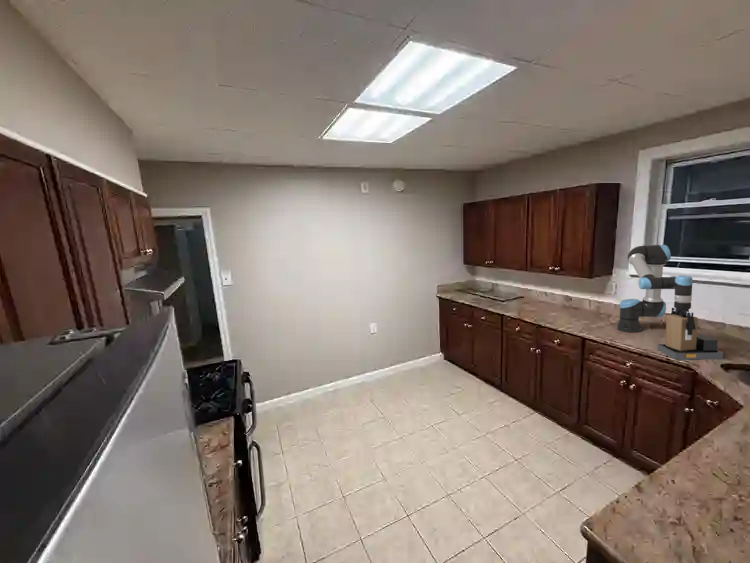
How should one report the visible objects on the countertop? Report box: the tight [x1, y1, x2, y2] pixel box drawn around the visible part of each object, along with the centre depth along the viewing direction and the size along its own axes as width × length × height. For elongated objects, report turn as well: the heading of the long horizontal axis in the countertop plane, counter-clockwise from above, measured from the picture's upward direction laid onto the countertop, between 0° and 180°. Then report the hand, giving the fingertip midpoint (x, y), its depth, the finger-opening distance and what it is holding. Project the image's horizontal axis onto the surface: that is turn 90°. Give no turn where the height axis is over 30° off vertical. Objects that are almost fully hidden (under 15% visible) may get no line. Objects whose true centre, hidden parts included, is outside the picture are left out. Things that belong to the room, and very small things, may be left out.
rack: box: [657, 333, 724, 361], centre depth 199 cm, size 17×24×11 cm
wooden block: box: [664, 314, 699, 351], centre depth 199 cm, size 10×10×20 cm
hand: (680, 336), depth 200 cm, fingers closed on wooden block, 11 cm apart
